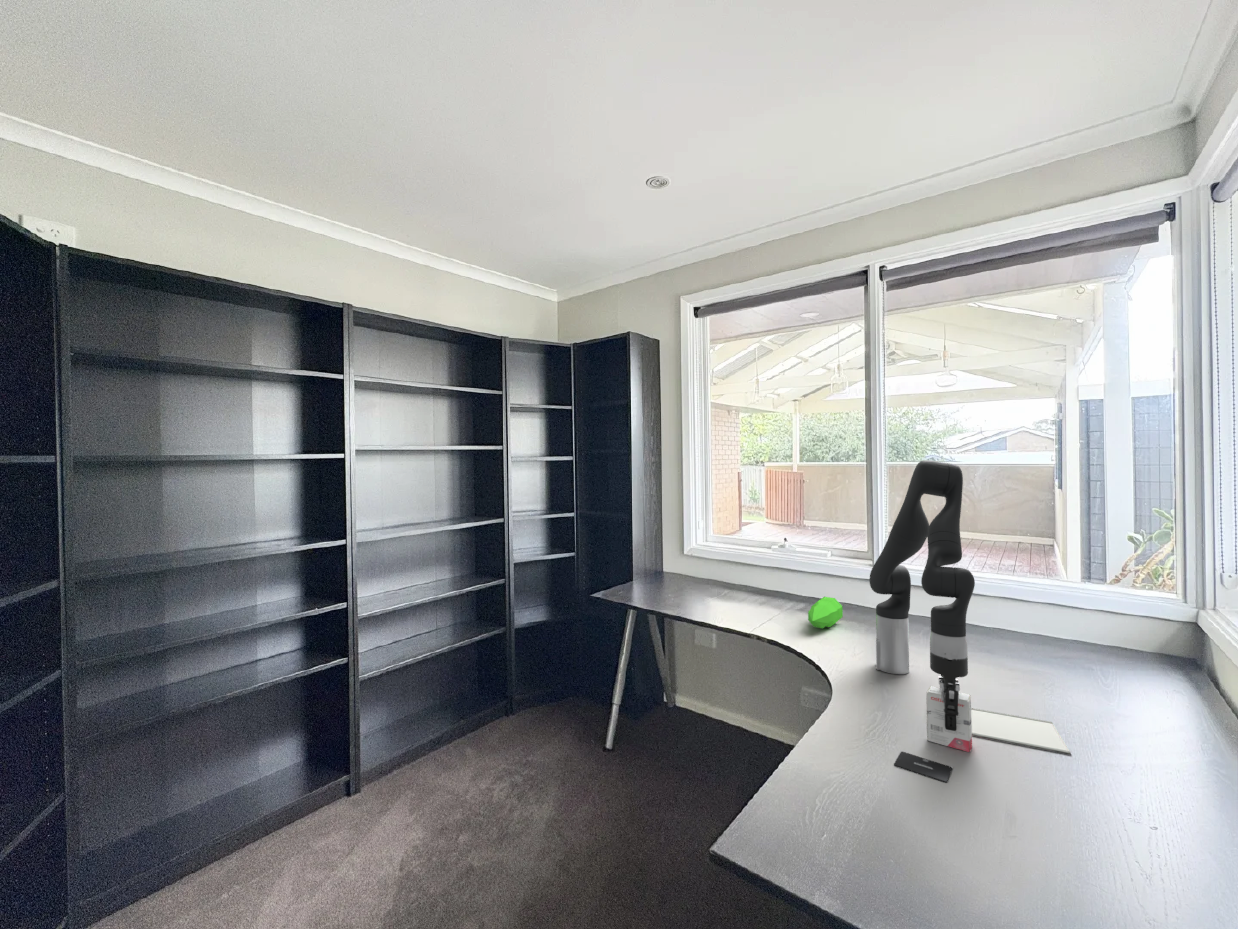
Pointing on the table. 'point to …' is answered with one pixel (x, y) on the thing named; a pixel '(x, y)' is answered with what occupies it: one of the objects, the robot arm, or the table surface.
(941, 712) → the ink box
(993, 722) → the mat
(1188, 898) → the table surface
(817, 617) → the green faceted egg part
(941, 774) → the solid state drive
